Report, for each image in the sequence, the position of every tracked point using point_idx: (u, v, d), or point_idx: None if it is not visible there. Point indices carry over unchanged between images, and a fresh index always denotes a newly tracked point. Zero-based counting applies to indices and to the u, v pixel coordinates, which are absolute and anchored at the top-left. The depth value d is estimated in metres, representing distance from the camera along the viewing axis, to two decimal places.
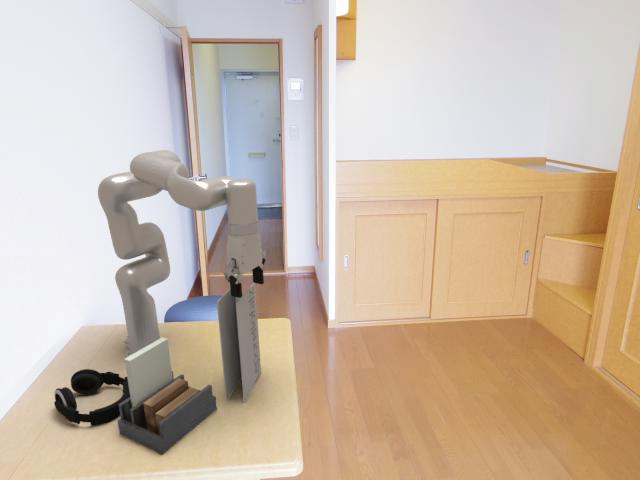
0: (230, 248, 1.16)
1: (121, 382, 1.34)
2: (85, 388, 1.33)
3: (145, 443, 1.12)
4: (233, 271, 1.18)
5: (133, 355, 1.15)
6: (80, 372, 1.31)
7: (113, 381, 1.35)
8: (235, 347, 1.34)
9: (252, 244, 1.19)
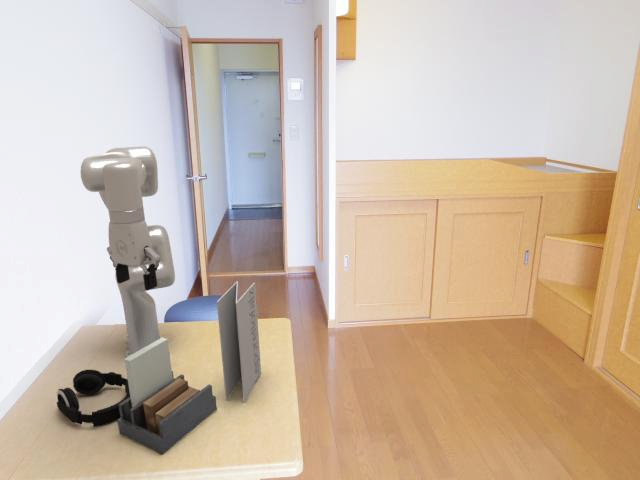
0: (141, 236, 1.06)
1: (123, 382, 1.34)
2: (87, 388, 1.33)
3: (145, 443, 1.12)
4: (144, 262, 1.08)
5: (133, 355, 1.15)
6: (82, 372, 1.31)
7: (115, 381, 1.34)
8: (235, 347, 1.34)
9: None
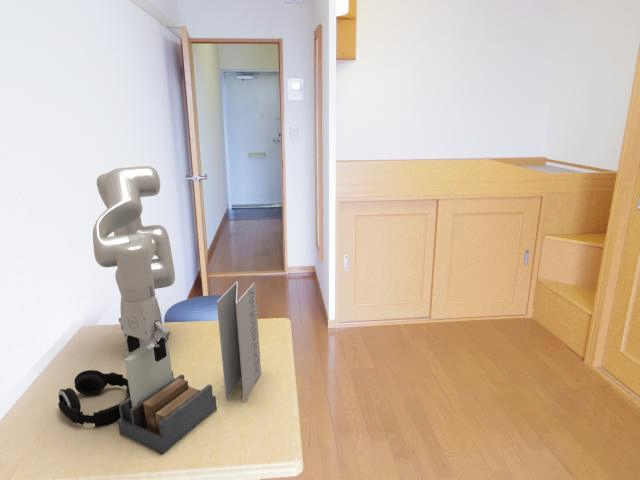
0: (152, 312, 1.11)
1: (125, 383, 1.34)
2: (89, 389, 1.33)
3: (145, 443, 1.12)
4: (154, 335, 1.13)
5: (133, 355, 1.15)
6: (84, 373, 1.31)
7: (117, 382, 1.34)
8: (235, 347, 1.34)
9: None
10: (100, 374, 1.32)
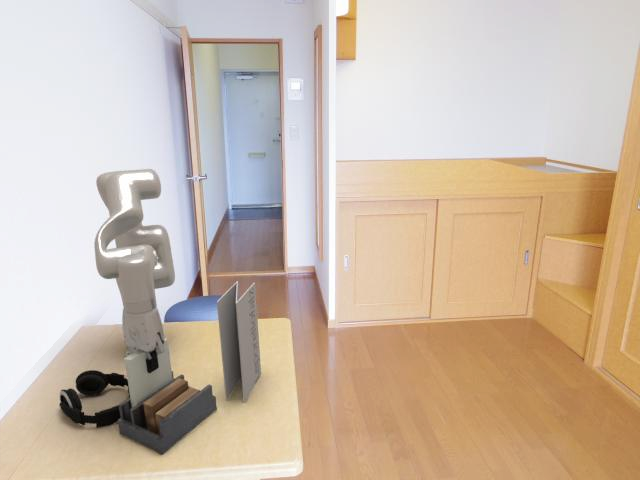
0: (153, 324, 1.12)
1: (126, 383, 1.34)
2: (90, 389, 1.32)
3: (145, 443, 1.12)
4: (156, 347, 1.15)
5: (133, 355, 1.15)
6: (85, 373, 1.31)
7: (118, 382, 1.34)
8: (235, 347, 1.34)
9: None
10: (101, 374, 1.32)
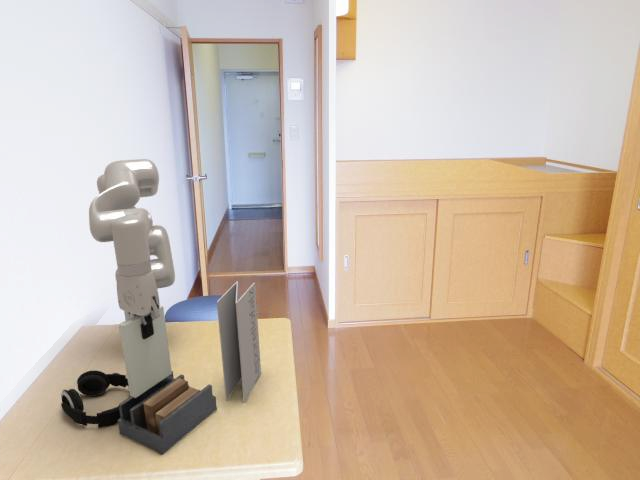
0: (148, 288, 1.10)
1: None
2: (91, 389, 1.32)
3: (145, 443, 1.12)
4: (151, 311, 1.12)
5: (128, 321, 1.12)
6: (86, 373, 1.31)
7: (119, 382, 1.34)
8: (235, 347, 1.34)
9: None
10: (103, 375, 1.32)
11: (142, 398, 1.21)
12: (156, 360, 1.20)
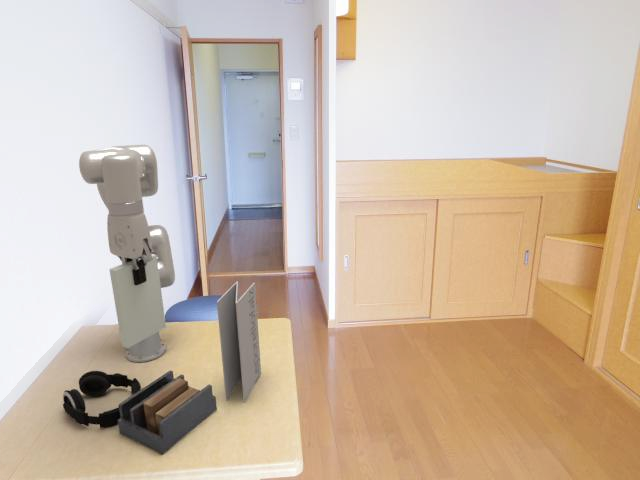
0: (140, 229, 1.05)
1: (129, 384, 1.34)
2: (93, 390, 1.32)
3: (145, 443, 1.12)
4: (143, 254, 1.07)
5: (119, 266, 1.08)
6: (88, 374, 1.30)
7: (121, 383, 1.34)
8: (235, 347, 1.34)
9: None
10: (105, 375, 1.32)
11: (142, 398, 1.21)
12: (149, 311, 1.16)
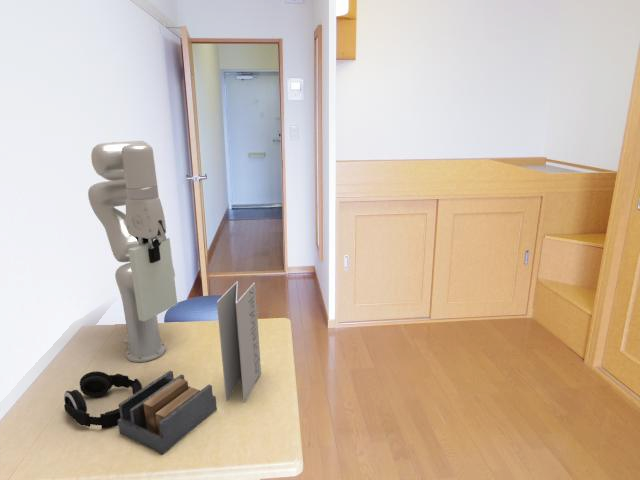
0: (155, 211, 1.17)
1: (130, 384, 1.33)
2: (94, 390, 1.32)
3: (145, 443, 1.12)
4: (158, 235, 1.20)
5: (137, 247, 1.20)
6: (89, 374, 1.30)
7: (122, 383, 1.34)
8: (235, 347, 1.34)
9: None
10: (105, 375, 1.31)
11: (142, 398, 1.21)
12: (162, 288, 1.28)
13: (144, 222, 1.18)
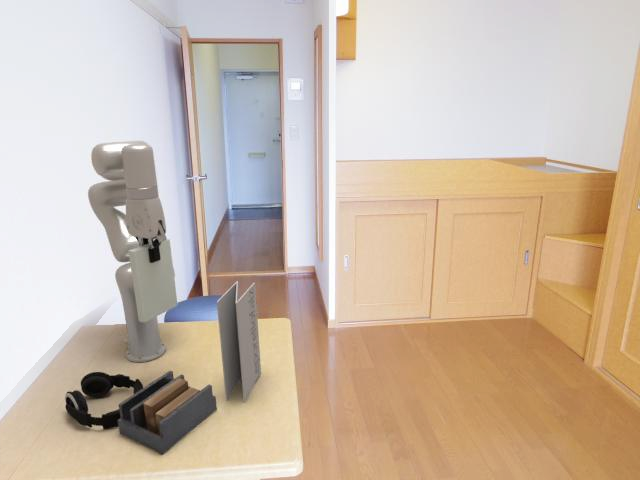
0: (155, 211, 1.18)
1: (131, 385, 1.33)
2: (95, 391, 1.32)
3: (145, 443, 1.12)
4: (158, 234, 1.20)
5: (137, 248, 1.20)
6: (90, 375, 1.30)
7: (123, 384, 1.33)
8: (235, 347, 1.34)
9: None
10: (107, 376, 1.31)
11: (142, 398, 1.21)
12: (163, 289, 1.28)
13: (144, 222, 1.18)
